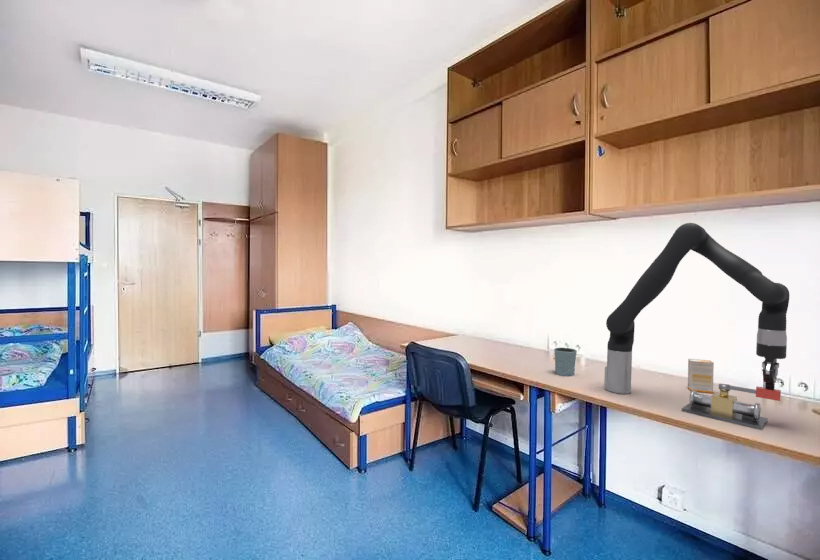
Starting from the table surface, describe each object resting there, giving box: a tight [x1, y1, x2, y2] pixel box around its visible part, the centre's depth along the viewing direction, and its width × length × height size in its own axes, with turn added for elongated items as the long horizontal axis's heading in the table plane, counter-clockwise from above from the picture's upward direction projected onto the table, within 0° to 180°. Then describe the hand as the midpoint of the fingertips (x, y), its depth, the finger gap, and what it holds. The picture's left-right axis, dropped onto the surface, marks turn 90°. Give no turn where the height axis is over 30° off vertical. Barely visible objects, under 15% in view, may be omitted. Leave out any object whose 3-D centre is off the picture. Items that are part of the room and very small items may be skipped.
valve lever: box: [718, 383, 782, 402], centre depth 138 cm, size 16×3×3 cm, turn 46°
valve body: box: [681, 389, 769, 431], centre depth 143 cm, size 22×12×9 cm, turn 41°
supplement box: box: [687, 358, 715, 394], centre depth 173 cm, size 8×5×13 cm, turn 66°
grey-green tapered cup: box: [553, 347, 577, 377], centre depth 197 cm, size 10×10×12 cm
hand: (769, 394), depth 137 cm, fingers closed
